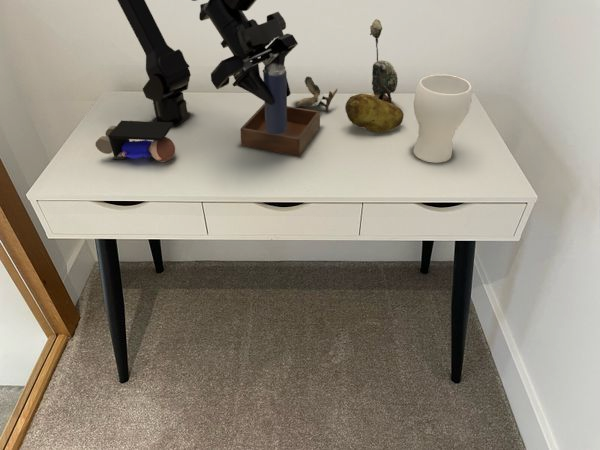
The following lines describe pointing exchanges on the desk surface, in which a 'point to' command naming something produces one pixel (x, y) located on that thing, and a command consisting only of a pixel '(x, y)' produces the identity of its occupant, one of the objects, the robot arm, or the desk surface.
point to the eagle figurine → (315, 95)
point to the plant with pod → (382, 72)
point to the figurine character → (133, 149)
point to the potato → (373, 113)
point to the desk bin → (290, 142)
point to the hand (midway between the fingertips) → (281, 99)
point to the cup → (439, 114)
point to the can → (276, 98)
